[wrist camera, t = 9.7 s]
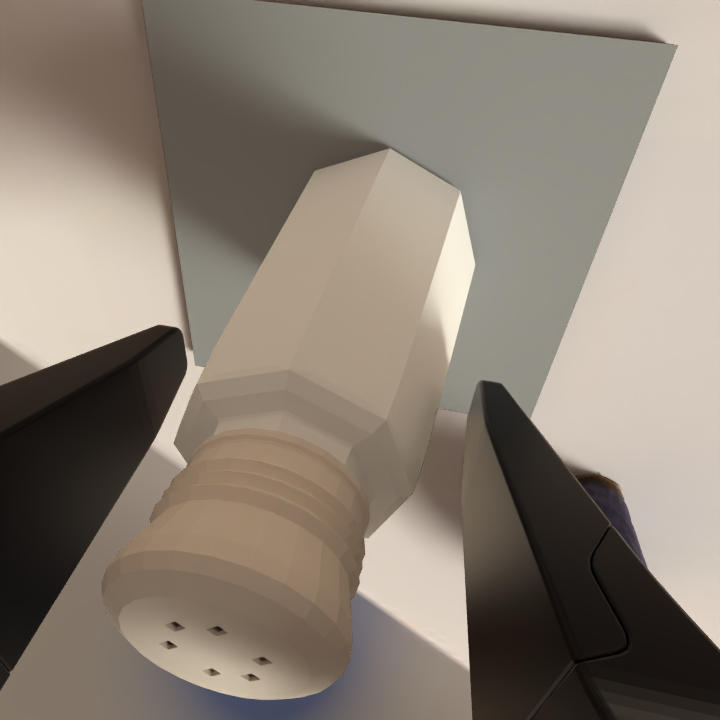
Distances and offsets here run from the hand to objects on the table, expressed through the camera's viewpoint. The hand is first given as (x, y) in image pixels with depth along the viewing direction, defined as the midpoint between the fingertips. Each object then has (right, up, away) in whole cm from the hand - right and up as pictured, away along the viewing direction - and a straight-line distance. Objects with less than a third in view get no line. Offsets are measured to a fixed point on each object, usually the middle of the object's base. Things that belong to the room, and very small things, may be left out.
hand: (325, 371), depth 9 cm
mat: (+1, +4, +5) cm, 7 cm away
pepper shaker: (+1, +4, +5) cm, 6 cm away
